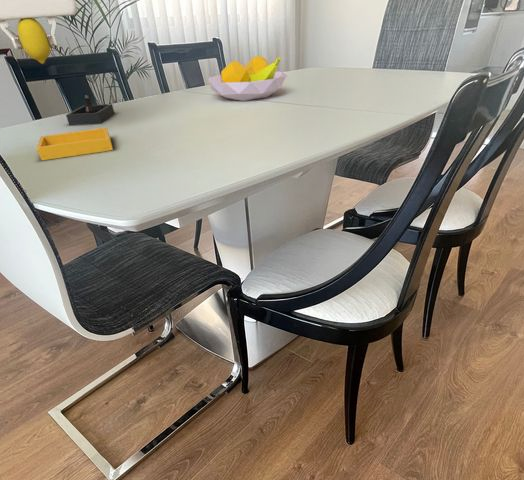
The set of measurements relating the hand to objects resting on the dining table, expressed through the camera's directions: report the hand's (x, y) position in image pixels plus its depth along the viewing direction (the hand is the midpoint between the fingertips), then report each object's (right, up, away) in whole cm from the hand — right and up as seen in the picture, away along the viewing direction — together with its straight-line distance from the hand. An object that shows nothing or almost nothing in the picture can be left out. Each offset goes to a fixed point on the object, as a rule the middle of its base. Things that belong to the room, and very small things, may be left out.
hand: (37, 47), depth 81 cm
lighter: (-5, +7, +37) cm, 38 cm away
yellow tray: (+4, -16, +11) cm, 19 cm away
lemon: (0, -2, +2) cm, 3 cm away
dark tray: (-5, +7, +37) cm, 38 cm away
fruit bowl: (+43, +23, +51) cm, 70 cm away
